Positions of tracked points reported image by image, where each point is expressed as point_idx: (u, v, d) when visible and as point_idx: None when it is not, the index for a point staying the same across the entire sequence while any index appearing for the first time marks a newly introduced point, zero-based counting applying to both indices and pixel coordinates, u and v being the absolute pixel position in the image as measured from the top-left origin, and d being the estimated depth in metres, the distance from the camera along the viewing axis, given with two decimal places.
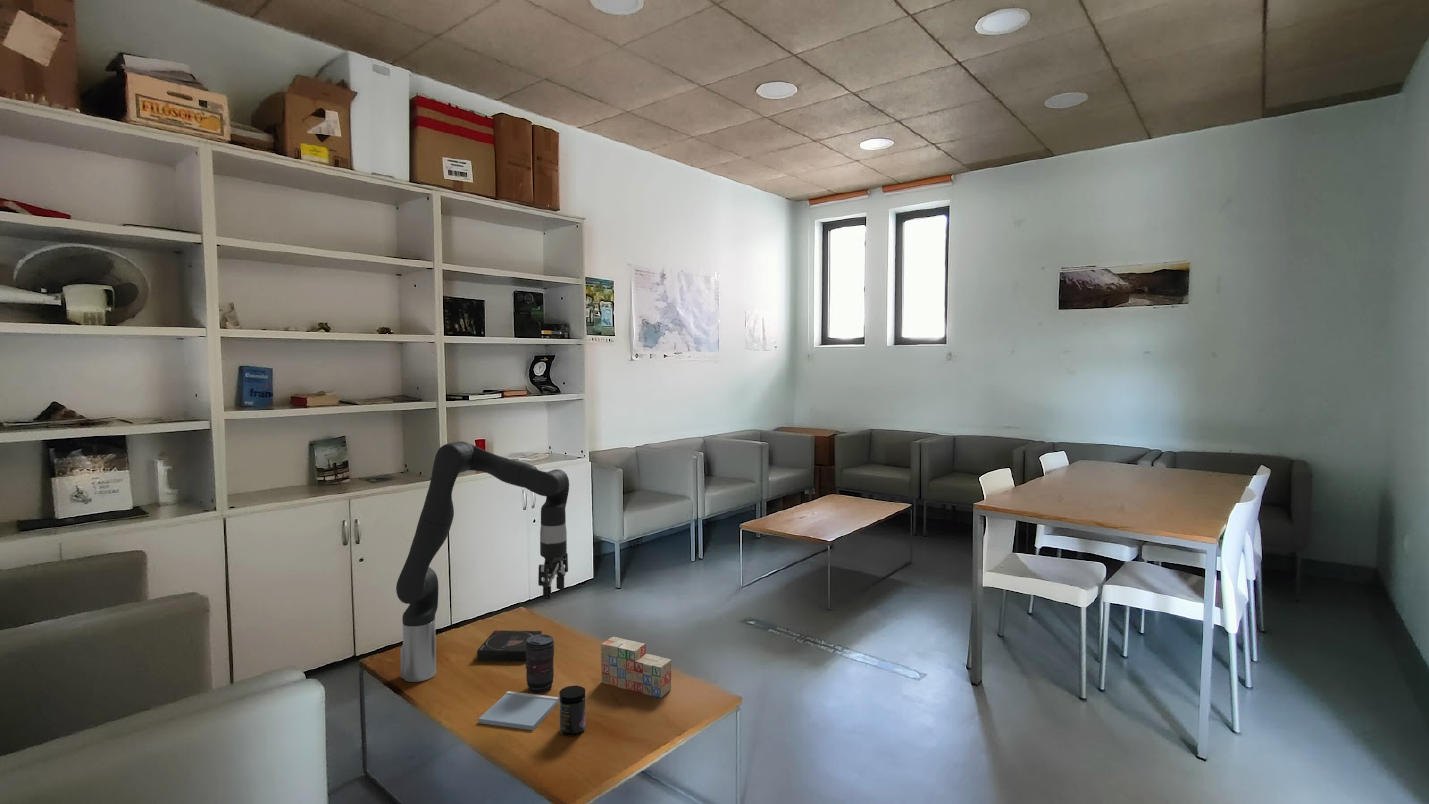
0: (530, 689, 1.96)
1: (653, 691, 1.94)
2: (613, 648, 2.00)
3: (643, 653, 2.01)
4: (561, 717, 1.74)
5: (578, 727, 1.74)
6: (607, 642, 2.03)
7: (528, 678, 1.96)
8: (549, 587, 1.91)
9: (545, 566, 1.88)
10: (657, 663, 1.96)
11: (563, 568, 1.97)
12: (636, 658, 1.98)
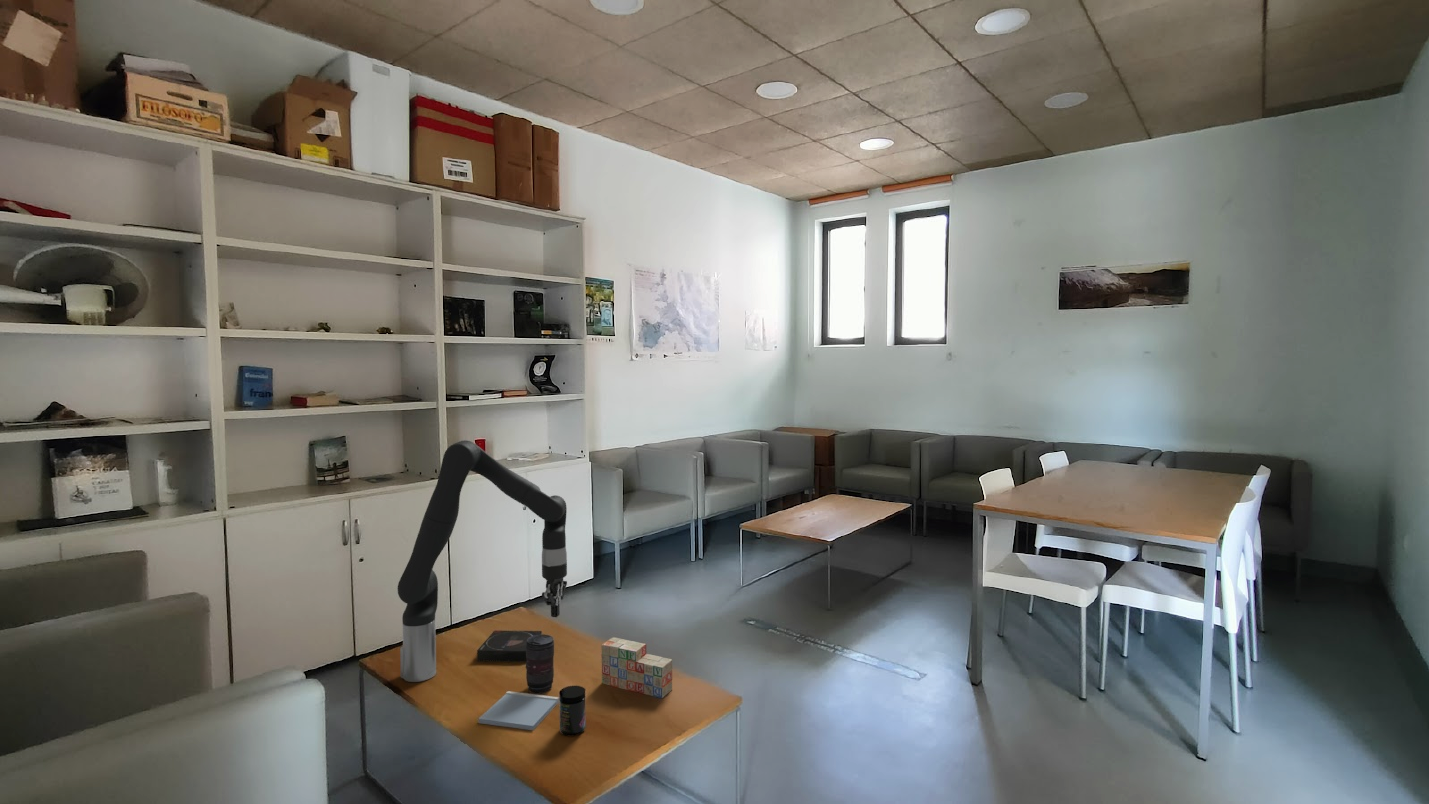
0: (530, 689, 1.96)
1: (654, 691, 1.94)
2: (613, 648, 2.00)
3: (644, 653, 2.01)
4: (561, 717, 1.74)
5: (578, 727, 1.73)
6: (607, 643, 2.03)
7: (528, 678, 1.96)
8: (556, 606, 2.07)
9: (548, 595, 2.01)
10: (658, 663, 1.96)
11: (561, 592, 2.08)
12: (637, 658, 1.97)
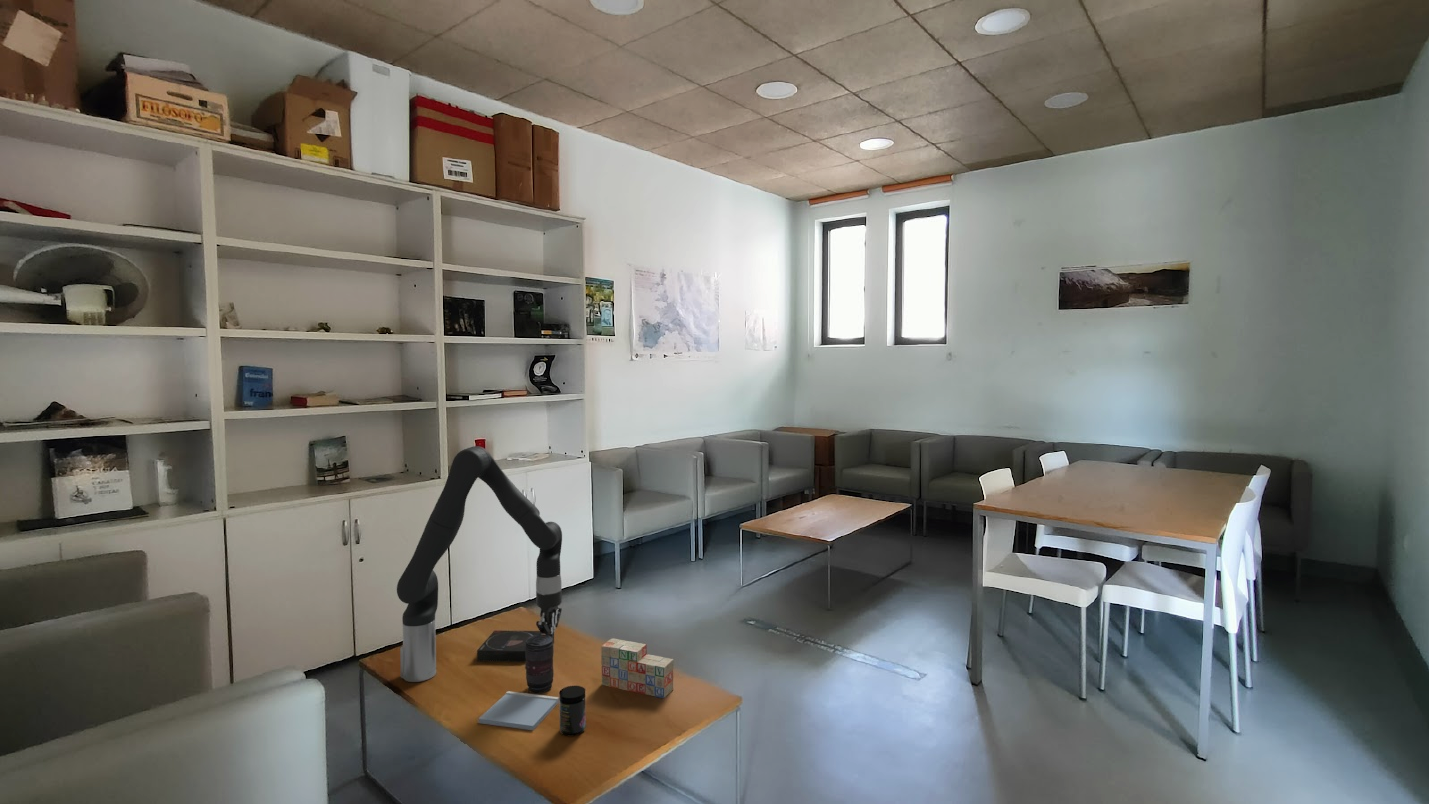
0: (530, 689, 1.96)
1: (656, 691, 1.94)
2: (614, 649, 1.99)
3: (644, 654, 2.01)
4: (561, 717, 1.74)
5: (578, 727, 1.73)
6: (607, 644, 2.02)
7: (528, 678, 1.96)
8: (551, 634, 2.03)
9: (542, 624, 1.97)
10: (660, 663, 1.96)
11: (556, 620, 2.04)
12: (638, 659, 1.97)
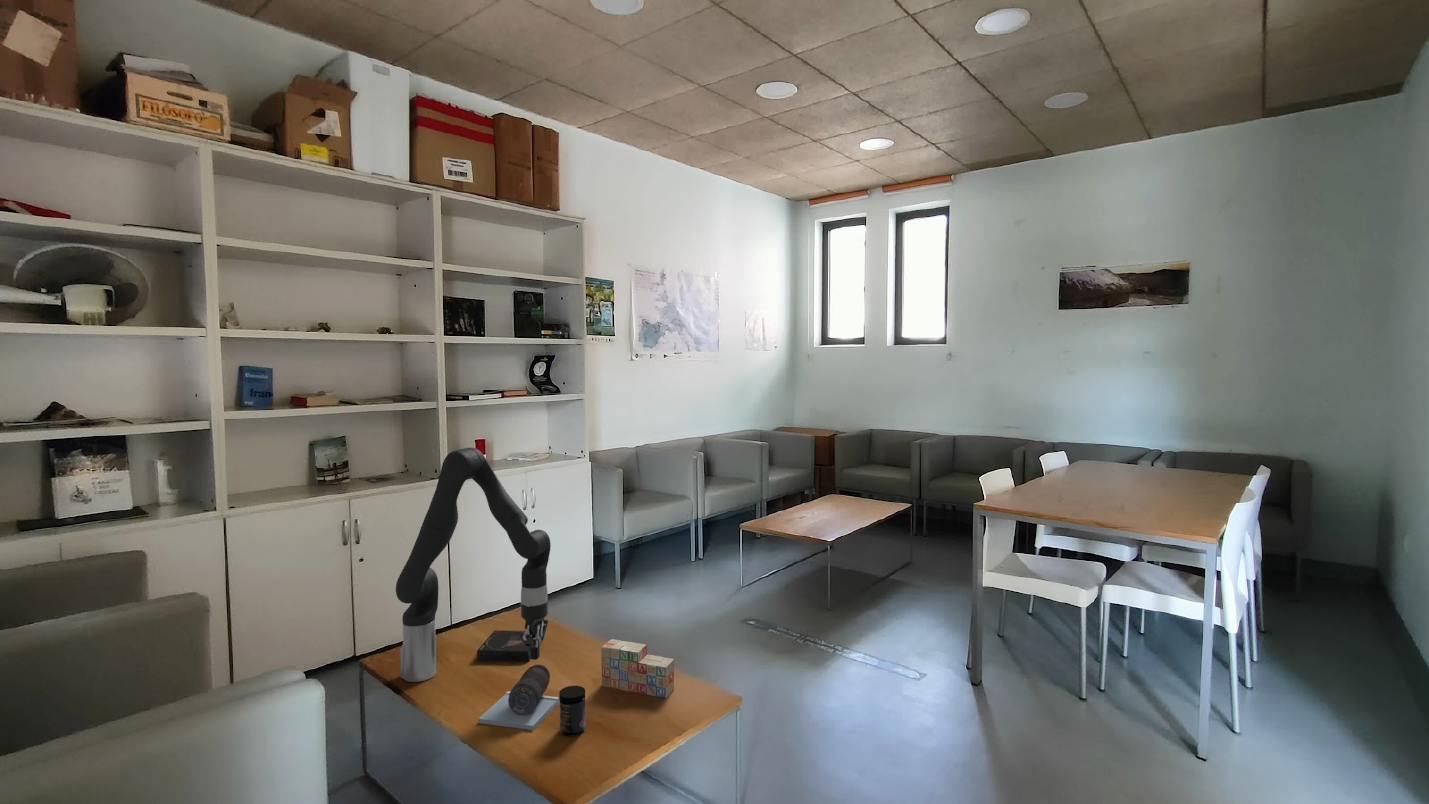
0: None
1: (657, 691, 1.94)
2: (614, 650, 1.98)
3: (644, 654, 2.00)
4: (561, 717, 1.74)
5: (578, 727, 1.73)
6: (607, 645, 2.01)
7: None
8: (536, 648, 1.94)
9: (526, 637, 1.89)
10: (661, 663, 1.96)
11: (541, 633, 1.95)
12: (639, 659, 1.97)
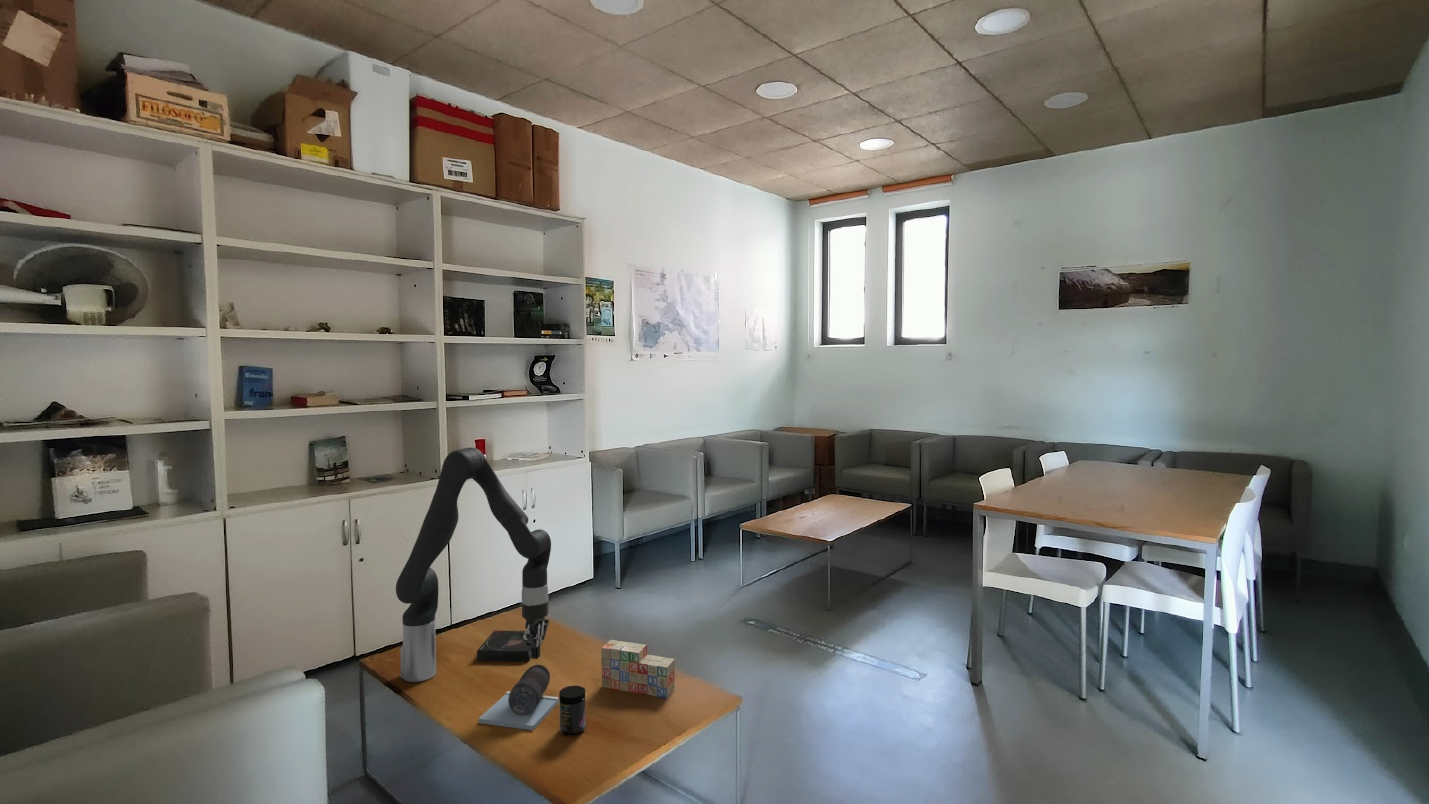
0: None
1: (658, 691, 1.94)
2: (614, 651, 1.98)
3: (645, 654, 2.00)
4: (561, 717, 1.74)
5: (578, 727, 1.74)
6: (607, 645, 2.01)
7: None
8: (537, 647, 1.95)
9: (527, 637, 1.89)
10: (662, 663, 1.96)
11: (542, 632, 1.96)
12: (640, 660, 1.96)
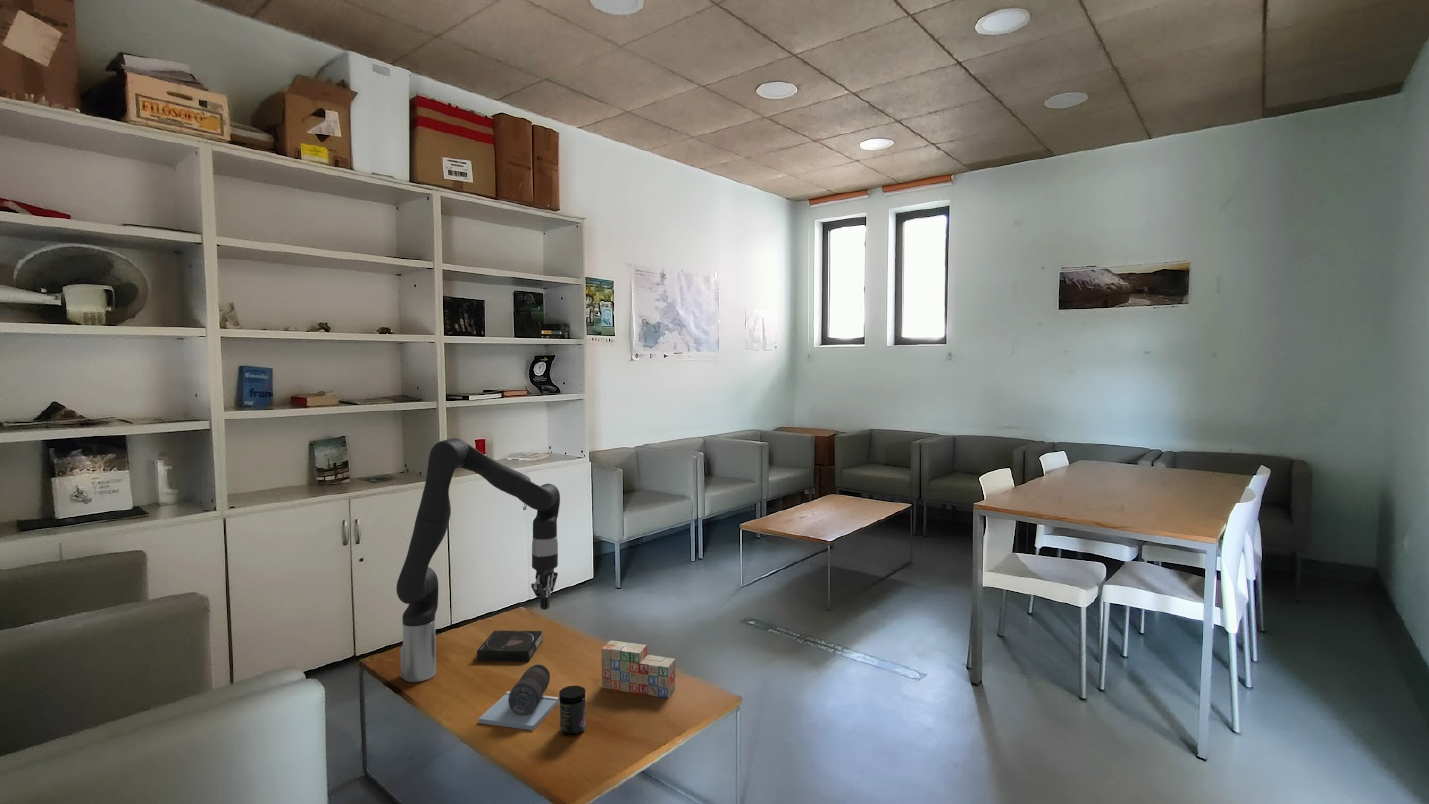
0: None
1: (659, 691, 1.94)
2: (615, 651, 1.98)
3: (645, 654, 2.00)
4: (561, 717, 1.74)
5: (578, 727, 1.74)
6: (607, 646, 2.00)
7: None
8: (546, 598, 2.00)
9: (537, 586, 1.94)
10: (662, 663, 1.96)
11: (551, 584, 2.01)
12: (640, 660, 1.96)
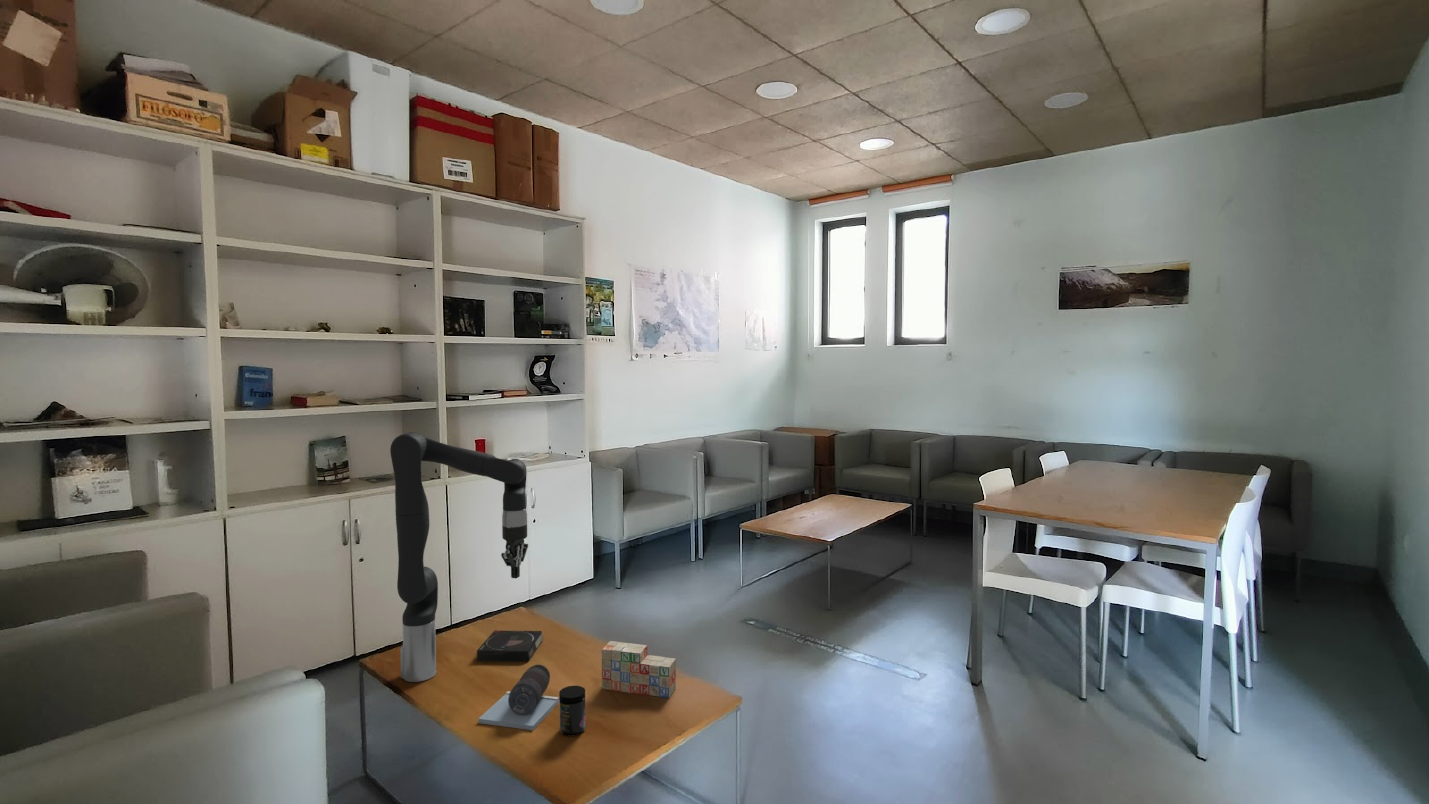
0: None
1: (661, 691, 1.94)
2: (615, 652, 1.97)
3: (645, 655, 2.00)
4: (561, 717, 1.74)
5: (578, 727, 1.73)
6: (607, 647, 2.00)
7: None
8: (516, 567, 2.10)
9: (507, 555, 2.04)
10: (663, 663, 1.96)
11: (521, 554, 2.11)
12: (641, 660, 1.96)
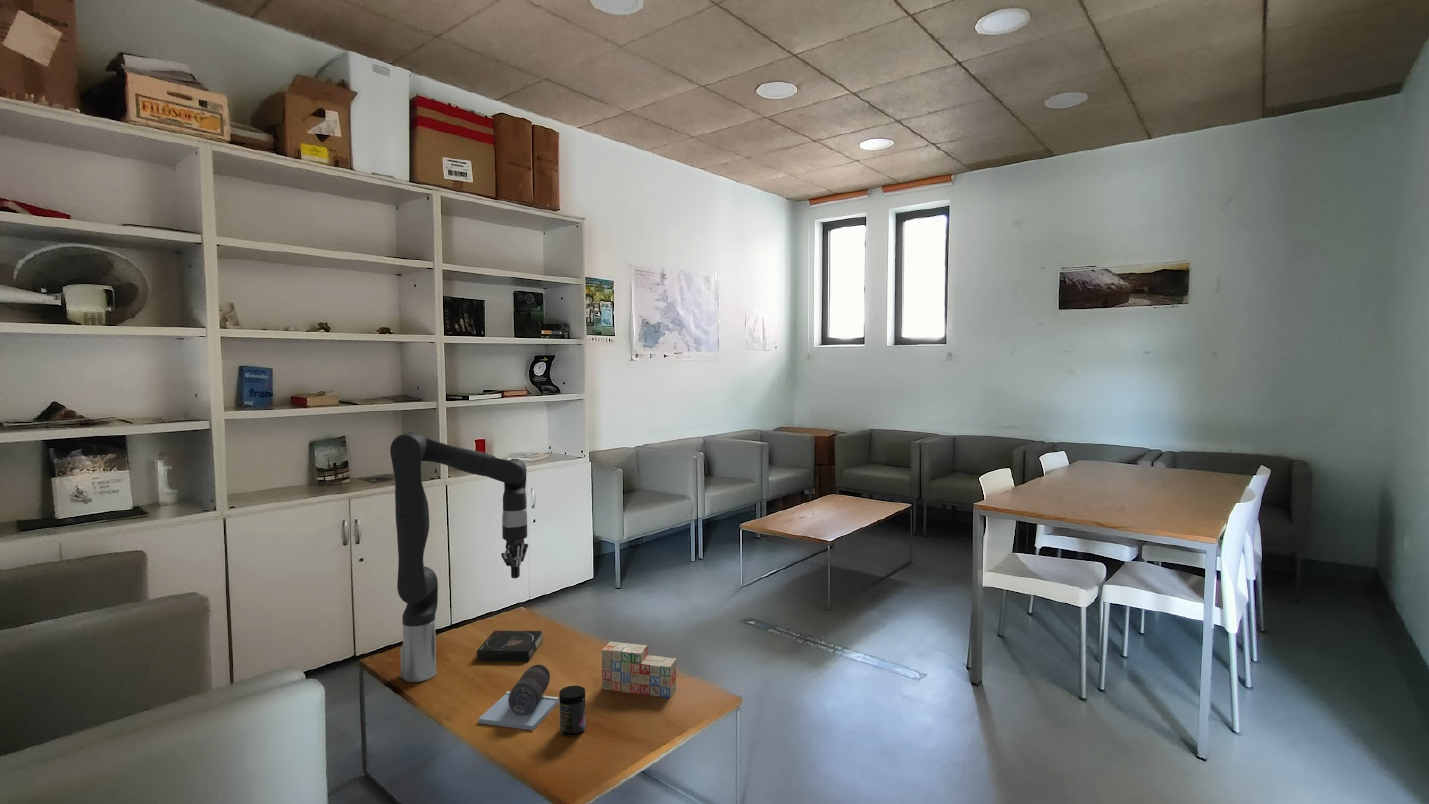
0: None
1: (661, 691, 1.94)
2: (615, 652, 1.97)
3: (646, 655, 2.00)
4: (561, 717, 1.74)
5: (578, 727, 1.73)
6: (607, 647, 1.99)
7: None
8: (516, 567, 2.10)
9: (507, 555, 2.04)
10: (664, 663, 1.96)
11: (521, 554, 2.11)
12: (641, 660, 1.96)
